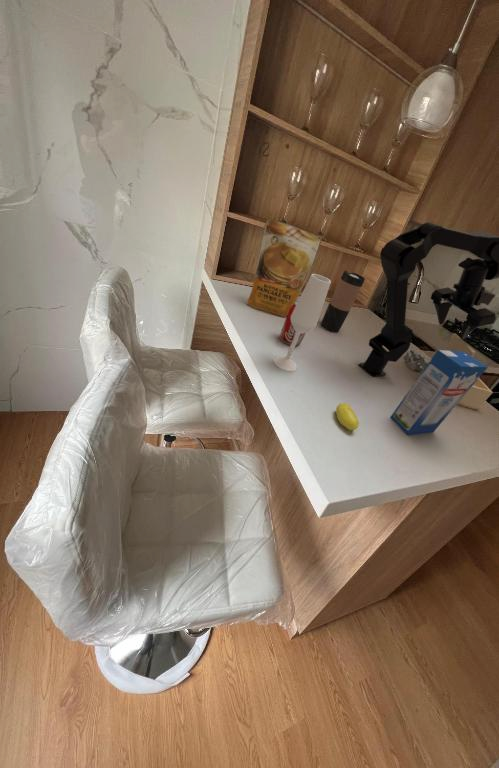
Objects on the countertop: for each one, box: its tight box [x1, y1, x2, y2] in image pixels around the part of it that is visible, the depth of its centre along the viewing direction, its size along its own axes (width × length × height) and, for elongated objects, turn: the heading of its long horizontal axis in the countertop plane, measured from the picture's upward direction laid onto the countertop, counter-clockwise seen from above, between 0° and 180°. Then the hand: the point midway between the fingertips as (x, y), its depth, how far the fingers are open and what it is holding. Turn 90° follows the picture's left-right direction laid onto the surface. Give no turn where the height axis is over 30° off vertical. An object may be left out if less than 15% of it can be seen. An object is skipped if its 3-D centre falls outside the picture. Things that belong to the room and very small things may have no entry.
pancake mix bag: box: [245, 219, 322, 318], centre depth 110 cm, size 7×19×28 cm, turn 87°
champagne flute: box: [273, 273, 332, 372], centre depth 82 cm, size 7×7×24 cm
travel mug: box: [320, 270, 366, 333], centre depth 115 cm, size 8×8×20 cm
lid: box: [446, 332, 477, 358], centre depth 97 cm, size 10×12×1 cm
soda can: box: [279, 300, 306, 346], centre depth 98 cm, size 7×7×12 cm
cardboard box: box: [456, 377, 494, 411], centre depth 103 cm, size 10×12×7 cm
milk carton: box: [390, 349, 489, 436], centre depth 77 cm, size 10×6×20 cm, turn 114°
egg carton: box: [403, 347, 430, 374], centre depth 115 cm, size 11×8×4 cm
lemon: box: [335, 402, 360, 431], centre depth 73 cm, size 4×8×4 cm, turn 6°
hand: (451, 331), depth 100 cm, fingers open, 9 cm apart
